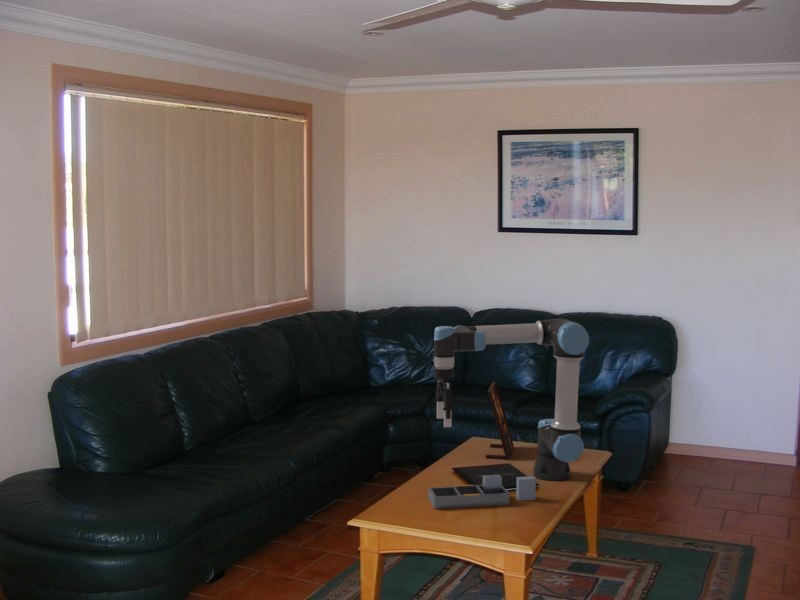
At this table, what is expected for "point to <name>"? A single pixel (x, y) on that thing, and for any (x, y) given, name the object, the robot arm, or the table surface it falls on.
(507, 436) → the picture frame
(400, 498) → the table surface
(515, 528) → the table surface
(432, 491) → the rack
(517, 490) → the block
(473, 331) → the robot arm
